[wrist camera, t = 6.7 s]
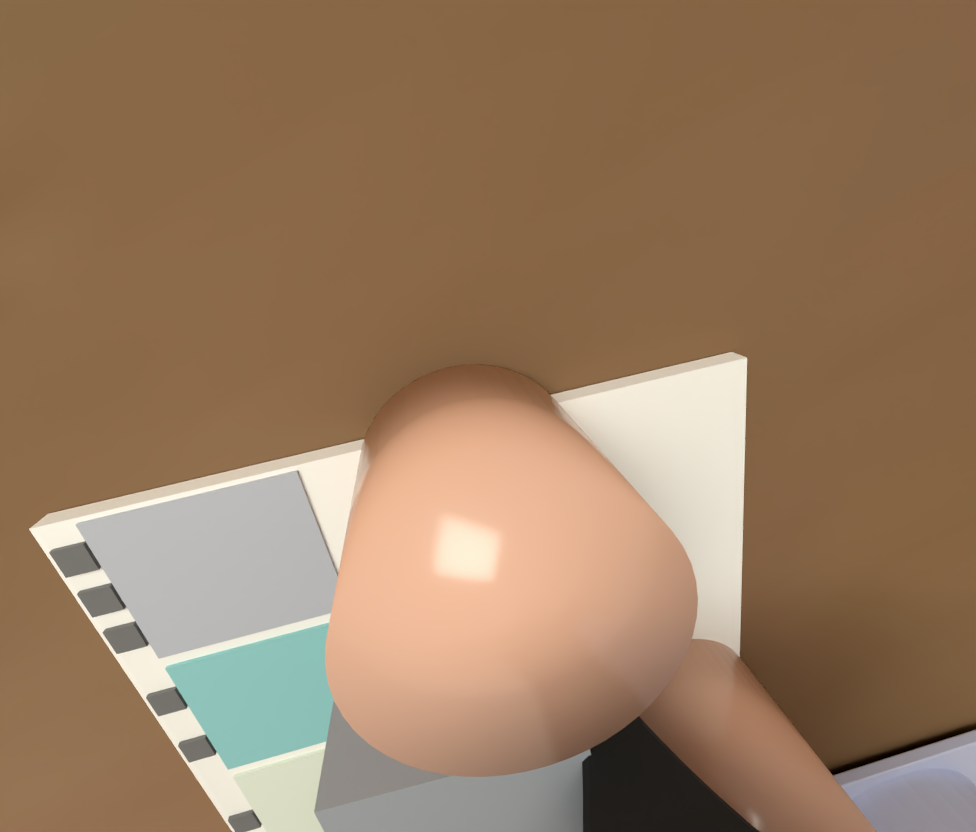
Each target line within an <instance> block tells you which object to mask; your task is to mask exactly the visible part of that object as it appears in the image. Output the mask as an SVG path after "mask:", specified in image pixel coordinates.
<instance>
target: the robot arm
mask: <svg viewBox="0 0 976 832" xmlns="http://www.w3.org/2000/svg"><path fill="white" fill-rule="evenodd" d="M590 752H591V755H589V756H588V757H587V758H586V759H585V760H584V761H583V762H582V774H583V832H759V831H758V830H757V829H756V828H755V827H753V826H752V825H751V824H750V823H749V822H747V821H746V820H745V819H744V818H743V817H742V816H741V815H740V814H738V813H737V812H736V811H735V810H734V809H733V808H732V807H731V806H729V805H728V804H727V803H726V802H725V801H724V800H723V799H722V798H721V797H719V796H718V795H717V794H716V793H715V792H714V791H713V790H712V789H711V788H710V787H709V786H708V785H706V784H705V783H704V782H703V781H702V780H701V779H700V778H699V777H698V776H697V775H696V774H695V773H694V772H693V771H692V770H691V769H690V768H689V767H688V766H687V765H685V764H684V763H683V762H682V761H681V760H680V759H679V758H678V757H677V756H676V755H675V754H674V753H673V752H672V751H671V750H670V749H669V748H668V746H667V745H666V744H665V743H664V742H663V741H662V740H661V739H660V738H659V737H658V736H657V735H656V734H655V733H654V732H653V731H652V730H651V729H650V728H649V727H648V725H647V724H646V723H645V722H644V721H643V720H642V719H641V718H640V716H638V717H637V718H636V719H635V720H633V721H632V722H631V723H630V724H628V725H627V726H626V727H625V728H623V729H622V730H620V731H619V732H617V733H616V734H614V735H613V736H611V737H610V738H608V739H607V740H605V741H603V742H602V743H600V744H598V745H596V746H594V747H593V748H591V749H590ZM833 777H834V778H835V779H836V780H837V782H838V783H839V784H840V785H841V787H842V788H843V789H844V791H845V792H846V793H847V794H848V796H849V797H850V798H851V799H852V801H853V802H854V803H855V805H856V806H857V807H858V808H859V810H860V811H861V812H862V813H863V815H864V816H865V817H866V819H867V820H868V821H869V822H870V824H871V825H872V826H873V827H874V829H875V830H876V831H877V832H976V729H975V730H972V731H969V732H966V733H963V734H960V735H957V736H954V737H950V738H947V739H944V740H941V741H938V742H935V743H932V744H929V745H925V746H922V747H919V748H916V749H913V750H910V751H907V752H904V753H901V754H897V755H894V756H891V757H888V758H885V759H882V760H879V761H876V762H873V763H869V764H866V765H863V766H860V767H857V768H854V769H851V770H848V771H845V772H841V773H838V774H835V775H833Z"/></svg>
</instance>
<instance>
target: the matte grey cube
mask: <svg viewBox="0 0 976 832" xmlns="http://www.w3.org/2000/svg"><path fill="white" fill-rule="evenodd" d="M589 755H591V752H590V749H589V750H587V751H585V752H583V753H580V754H578V755H576V756H574V757H571V758H569V759H567V760H564V761H561V762H558V763H555V764H552V765H549V766H546V767H542V768H538V769H535V770H531V771H527V772H521V773H515V774H509V775H501V776H488V777H462V776H453V775H444V774H439V773H434V772H429V771H425V770H421V769H418V768H415V767H412V766H409V765H406V764H403V763H401V762H399V761H397V760H395V759H393V758H391V757H388V756H386V755H385V754H383V753H382V752H380V751H379V750H377V749H375V748H374V747H372V746H371V745H369V744H368V743H367V742H366V741H365V740H364V739H363V738H362V737H360V736H359V735H358V734H357V733H356V732H355V731H354V730H353V729H352V727H351V726H350V725H349V724H348V722H347V721H346V720H345V719H344V718H343V716H342V714H341V712H340V711H339V709H338V707H337V705H336V703H335V702H334V701H333V706H332V712H331V718H330V724H329V729H328V735H327V741H326V747H325V752H324V758H323V764H322V770H321V775H320V781H319V787H318V793H317V798H316V804H315V810H314V813H315V815H316V817H317V819H318V821H319V823H320V825H321V827H322V828H323V830H324V832H583V774H582V762H583V761H584V760H585V759H586V758H587V757H588V756H589Z"/></svg>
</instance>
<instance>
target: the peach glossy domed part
mask: <svg viewBox="0 0 976 832" xmlns="http://www.w3.org/2000/svg"><path fill="white" fill-rule="evenodd" d="M697 606H698V594H697V585H696V579H695V575H694V571H693V568H692V564H691V562H690V560H689V558H688V555H687V553H686V551H685V549H684V547H683V545H682V544H681V543H680V541H679V540H678V539H677V537H676V536H675V534H674V533H673V532H672V530H671V529H670V528H669V527H668V526H667V525H666V524H665V522H664V521H663V520H662V519H661V518H660V517H659V516H658V515H657V513H656V512H655V511H654V510H653V509H652V508H651V507H650V506H649V504H648V503H647V502H646V501H645V500H644V499H643V498H642V497H641V495H640V494H639V493H638V492H637V491H636V490H635V489H634V488H633V486H632V485H631V484H630V483H629V482H628V481H627V480H626V479H625V478H624V476H623V475H622V474H621V473H620V472H619V471H618V470H617V469H616V467H615V466H614V465H613V464H612V463H611V462H610V461H609V460H608V458H607V457H606V456H605V455H604V454H603V453H602V452H601V451H600V449H599V448H598V447H597V446H596V445H595V444H594V443H593V442H592V440H591V439H590V438H589V437H588V436H587V435H586V434H585V433H584V431H583V430H582V429H581V428H580V427H579V426H578V425H577V424H576V422H575V421H574V420H573V419H572V418H571V417H570V416H569V415H568V414H567V412H566V411H565V410H564V409H563V408H562V407H561V406H560V405H559V403H558V402H557V401H556V400H555V399H554V398H553V397H552V396H551V395H550V394H549V393H548V392H547V391H546V390H545V389H544V388H542V387H541V386H540V385H538V384H537V383H536V382H534V381H533V380H531V379H529V378H527V377H525V376H523V375H522V374H519V373H516V372H514V371H511V370H508V369H504V368H500V367H496V366H488V365H461V366H455V367H448V368H445V369H441V370H438V371H435V372H432V373H429V374H427V375H425V376H423V377H420V378H418V379H417V380H415V381H413V382H412V383H410V384H408V385H407V386H405V387H404V388H402V389H401V390H400V391H399V392H397V393H396V394H395V395H394V396H393V397H392V398H391V399H390V400H389V401H388V402H387V403H386V404H385V405H384V406H383V407H382V408H381V410H380V411H379V413H378V414H377V415H376V417H375V418H374V420H373V421H372V423H371V425H370V427H369V429H368V431H367V433H366V436H365V439H364V441H363V444H362V449H361V454H360V459H359V464H358V470H357V475H356V480H355V486H354V491H353V497H352V502H351V507H350V513H349V518H348V524H347V529H346V534H345V540H344V545H343V551H342V556H341V562H340V567H339V572H338V578H337V583H336V589H335V594H334V599H333V605H332V610H331V616H330V621H329V627H328V632H327V637H326V643H325V668H326V674H327V681H328V685H329V688H330V691H331V693H332V696H333V699H334V702H335V703H336V705H337V707H338V709H339V711H340V712H341V714H342V716H343V718H344V719H345V720H346V721H347V722H348V724H349V725H350V726H351V727H352V729H353V730H354V731H355V732H356V733H357V734H358V735H359V736H360V737H362V738H363V739H364V740H365V741H366V742H367V743H368V744H369V745H371V746H372V747H374V748H375V749H377V750H379V751H380V752H382V753H383V754H385V755H386V756H388V757H391V758H393V759H395V760H397V761H399V762H401V763H403V764H406V765H409V766H412V767H415V768H418V769H421V770H425V771H429V772H434V773H439V774H444V775H453V776H462V777H488V776H501V775H509V774H515V773H521V772H527V771H531V770H535V769H538V768H542V767H546V766H549V765H552V764H555V763H558V762H561V761H564V760H567V759H569V758H571V757H574V756H576V755H578V754H580V753H583V752H585V751H587V750H589V749H591V748H593V747H594V746H596V745H598V744H600V743H602V742H603V741H605V740H607V739H608V738H610V737H611V736H613V735H614V734H616V733H617V732H619V731H620V730H622V729H623V728H625V727H626V726H627V725H628V724H630V723H631V722H632V721H633V720H635V719H636V718H637V717H638V716H639V715H640V714H642V713H643V712H644V711H645V710H646V709H647V708H648V707H649V706H650V705H651V704H652V703H653V702H654V701H655V700H656V698H657V697H658V696H659V695H660V694H661V692H662V691H663V690H664V689H665V688H666V686H667V685H668V684H669V682H670V681H671V679H672V678H673V676H674V675H675V673H676V672H677V670H678V668H679V666H680V665H681V663H682V661H683V659H684V657H685V655H686V653H687V650H688V647H689V645H690V642H691V639H692V636H693V633H694V628H695V623H696V619H697Z"/></svg>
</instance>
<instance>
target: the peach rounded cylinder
mask: <svg viewBox="0 0 976 832" xmlns="http://www.w3.org/2000/svg"><path fill="white" fill-rule="evenodd" d="M639 716H640V718H641V719H642V720H643V721H644V722H645V723H646V724H647V725H648V727H649V728H650V729H651V730H652V731H653V732H654V733H655V734H656V735H657V736H658V737H659V738H660V739H661V740H662V741H663V742H664V743H665V744H666V745H667V746H668V748H669V749H670V750H671V751H672V752H673V753H674V754H675V755H676V756H677V757H678V758H679V759H680V760H681V761H682V762H683V763H684V764H685V765H687V766H688V767H689V768H690V769H691V770H692V771H693V772H694V773H695V774H696V775H697V776H698V777H699V778H700V779H701V780H702V781H703V782H704V783H705V784H706V785H708V786H709V787H710V788H711V789H712V790H713V791H714V792H715V793H716V794H717V795H718V796H719V797H721V798H722V799H723V800H724V801H725V802H726V803H727V804H728V805H729V806H731V807H732V808H733V809H734V810H735V811H736V812H737V813H738V814H740V815H741V816H742V817H743V818H744V819H745V820H746V821H747V822H749V823H750V824H751V825H752V826H753V827H755V828H756V829H757V830H758V831H759V832H877V831H876V830H875V829H874V827H873V826H872V825H871V824H870V822H869V821H868V820H867V819H866V817H865V816H864V815H863V813H862V812H861V811H860V810H859V808H858V807H857V806H856V805H855V803H854V802H853V801H852V799H851V798H850V797H849V796H848V794H847V793H846V792H845V791H844V789H843V788H842V787H841V785H840V784H839V783H838V782H837V780H836V779H835V778H834V777H833V775H832V774H831V773H830V771H829V770H828V769H827V768H826V766H825V765H824V764H823V763H822V761H821V760H820V759H819V757H818V756H817V755H816V754H815V752H814V751H813V750H812V749H811V747H810V746H809V745H808V744H807V742H806V741H805V740H804V738H803V737H802V736H801V735H800V733H799V732H798V731H797V730H796V728H795V727H794V726H793V724H792V723H791V722H790V721H789V719H788V718H787V717H786V716H785V714H784V713H783V712H782V710H781V709H780V708H779V707H778V705H777V704H776V703H775V702H774V700H773V699H772V698H771V696H770V695H769V694H768V693H767V691H766V690H765V689H764V688H763V686H762V685H761V684H760V682H759V681H758V680H757V679H756V677H755V676H754V675H753V674H752V672H751V671H750V670H749V668H748V667H747V666H746V665H745V663H744V662H743V661H742V660H741V658H740V657H739V656H738V655H737V653H736V652H734V651H733V650H732V649H731V648H729V647H728V646H726V645H724V644H722V643H719V642H716V641H712V640H706V639H691V642H690V645H689V647H688V650H687V653H686V655H685V657H684V659H683V661H682V663H681V665H680V666H679V668H678V670H677V672H676V673H675V675H674V676H673V678H672V679H671V681H670V682H669V684H668V685H667V686H666V688H665V689H664V690H663V691H662V692H661V694H660V695H659V696H658V697H657V698H656V700H655V701H654V702H653V703H652V704H651V705H650V706H649V707H648V708H647V709H646V710H645V711H644V712H643V713H642V714H640V715H639Z"/></svg>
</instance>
